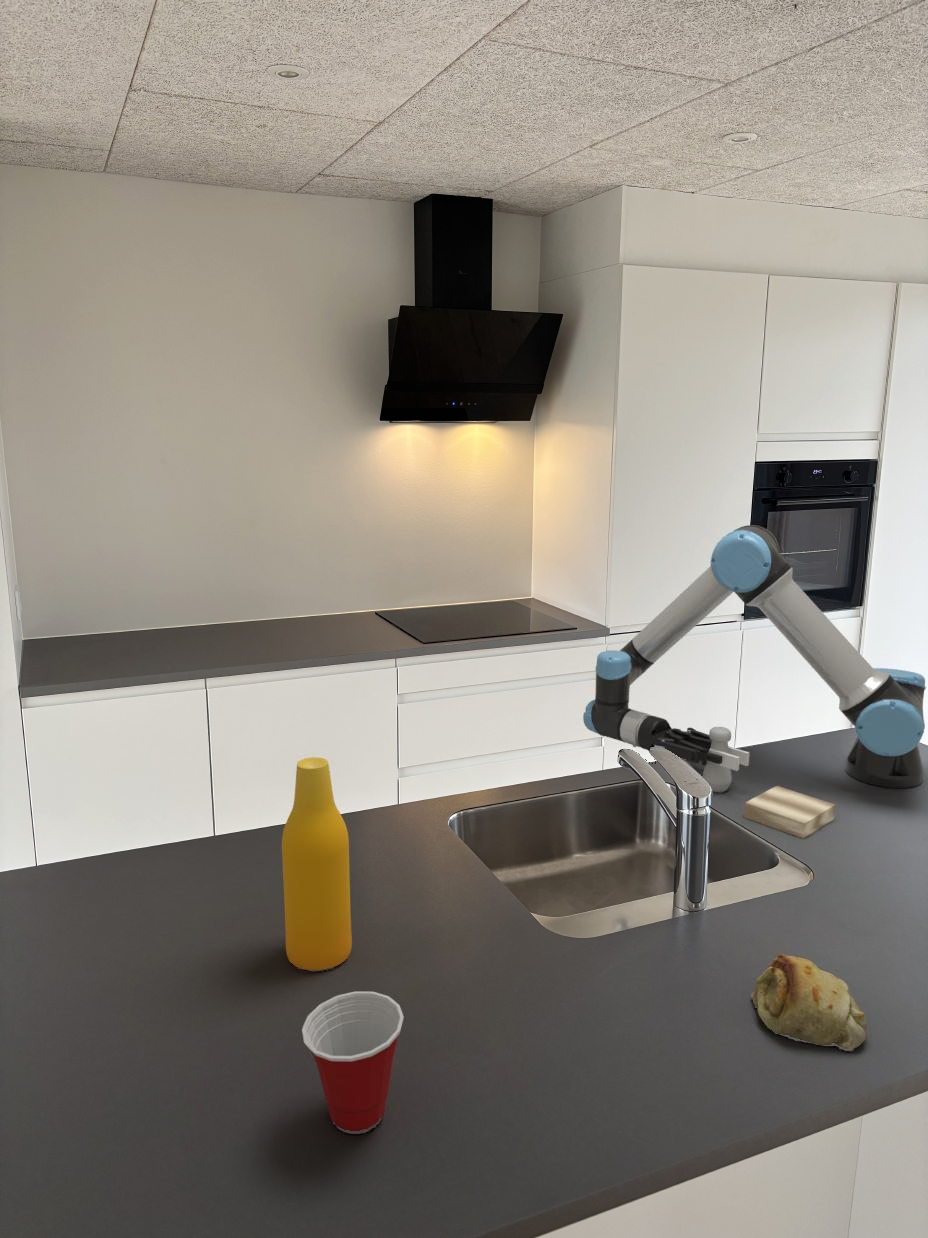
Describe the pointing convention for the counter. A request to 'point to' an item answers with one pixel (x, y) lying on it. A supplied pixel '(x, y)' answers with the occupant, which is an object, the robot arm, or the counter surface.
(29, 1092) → the counter surface
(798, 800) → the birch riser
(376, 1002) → the plastic cup
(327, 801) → the beer bottle
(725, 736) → the salt shaker
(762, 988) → the pastry
